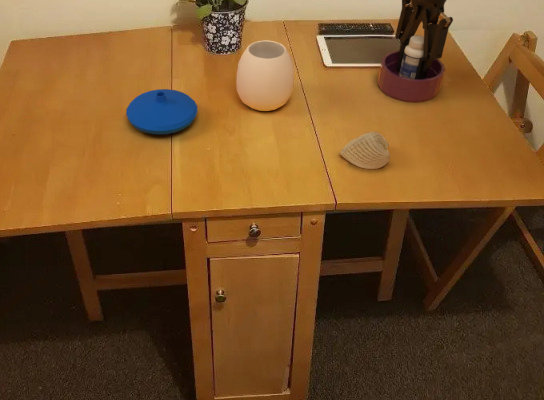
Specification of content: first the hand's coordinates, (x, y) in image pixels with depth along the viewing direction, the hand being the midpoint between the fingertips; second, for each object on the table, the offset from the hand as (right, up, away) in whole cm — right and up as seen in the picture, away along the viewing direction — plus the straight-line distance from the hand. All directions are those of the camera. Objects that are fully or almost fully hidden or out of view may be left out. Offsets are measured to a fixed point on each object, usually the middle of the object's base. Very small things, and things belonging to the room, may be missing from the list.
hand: (410, 75), depth 139 cm
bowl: (0, -2, +2) cm, 3 cm away
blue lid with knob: (-58, -12, -8) cm, 60 cm away
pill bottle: (0, 0, 0) cm, 1 cm away
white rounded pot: (-35, -7, -2) cm, 36 cm away
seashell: (-15, -21, -18) cm, 31 cm away
